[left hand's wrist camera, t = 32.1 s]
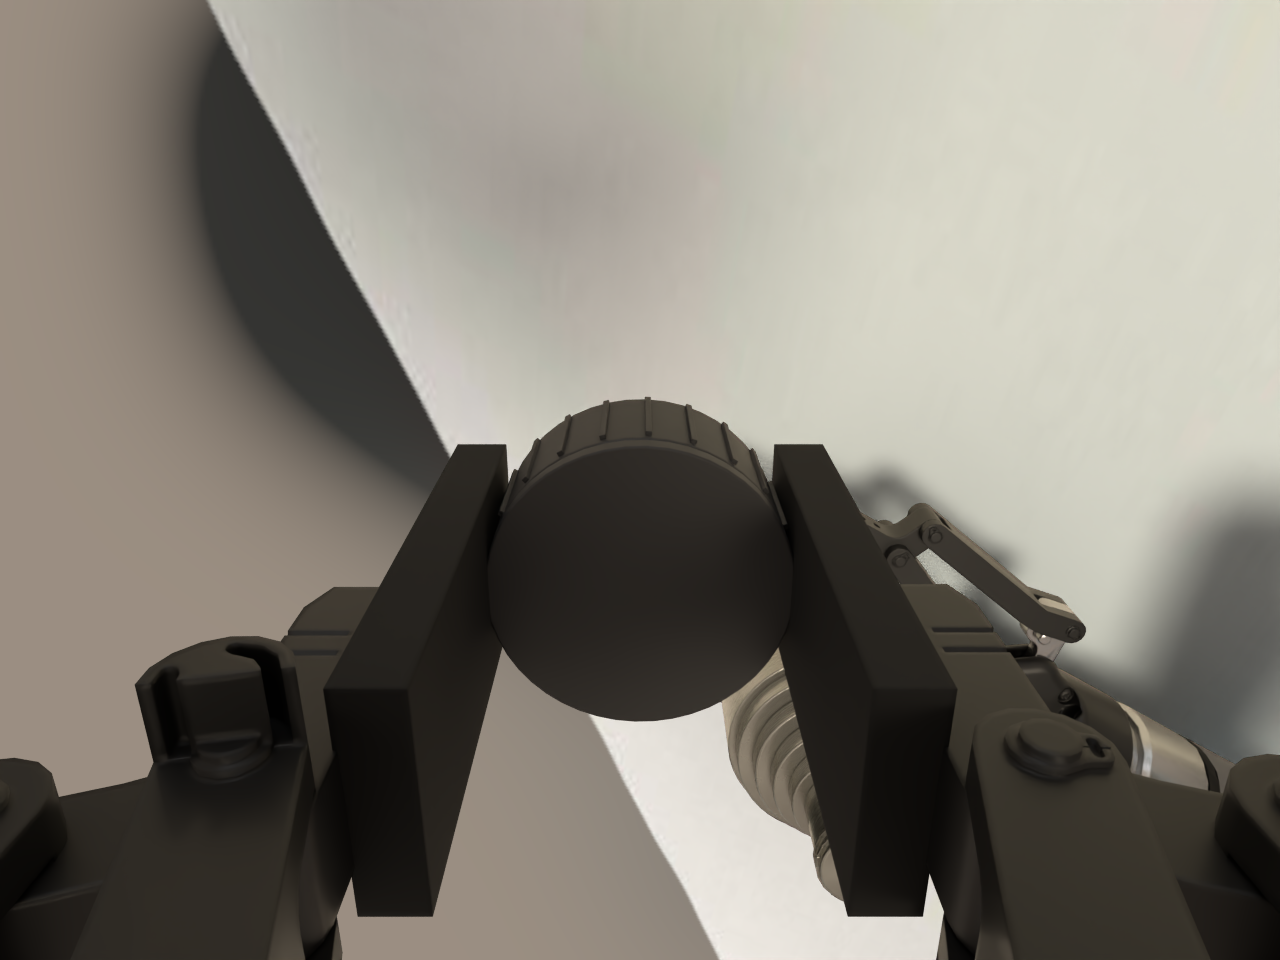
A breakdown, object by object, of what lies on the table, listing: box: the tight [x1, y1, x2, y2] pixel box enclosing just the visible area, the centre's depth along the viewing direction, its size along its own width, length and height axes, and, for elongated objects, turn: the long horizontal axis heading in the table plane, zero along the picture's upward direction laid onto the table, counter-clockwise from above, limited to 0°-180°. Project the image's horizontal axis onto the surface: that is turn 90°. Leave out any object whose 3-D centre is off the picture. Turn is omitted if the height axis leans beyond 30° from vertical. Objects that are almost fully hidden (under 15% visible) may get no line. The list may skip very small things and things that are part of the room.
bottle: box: [722, 648, 844, 901], centre depth 40 cm, size 8×8×23 cm
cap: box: [487, 397, 794, 721], centre depth 14 cm, size 4×4×2 cm
